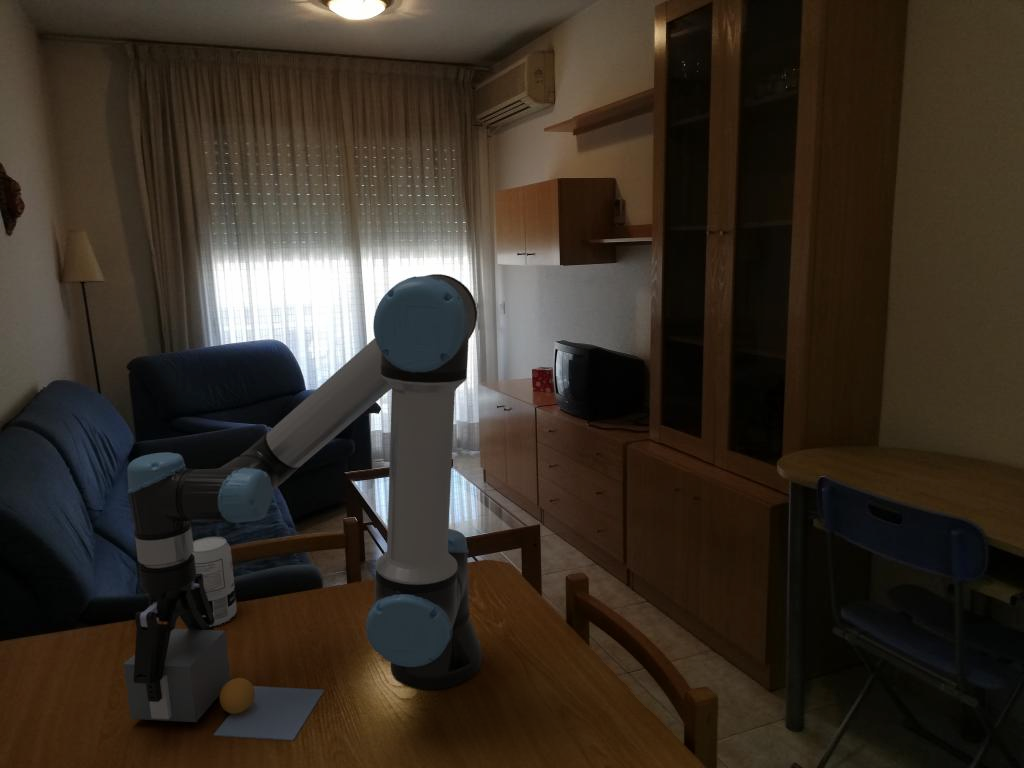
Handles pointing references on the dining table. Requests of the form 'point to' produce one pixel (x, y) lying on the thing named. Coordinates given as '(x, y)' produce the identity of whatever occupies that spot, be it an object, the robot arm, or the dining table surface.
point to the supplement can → (216, 576)
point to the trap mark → (272, 714)
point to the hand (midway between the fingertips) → (182, 694)
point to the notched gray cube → (185, 675)
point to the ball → (237, 695)
